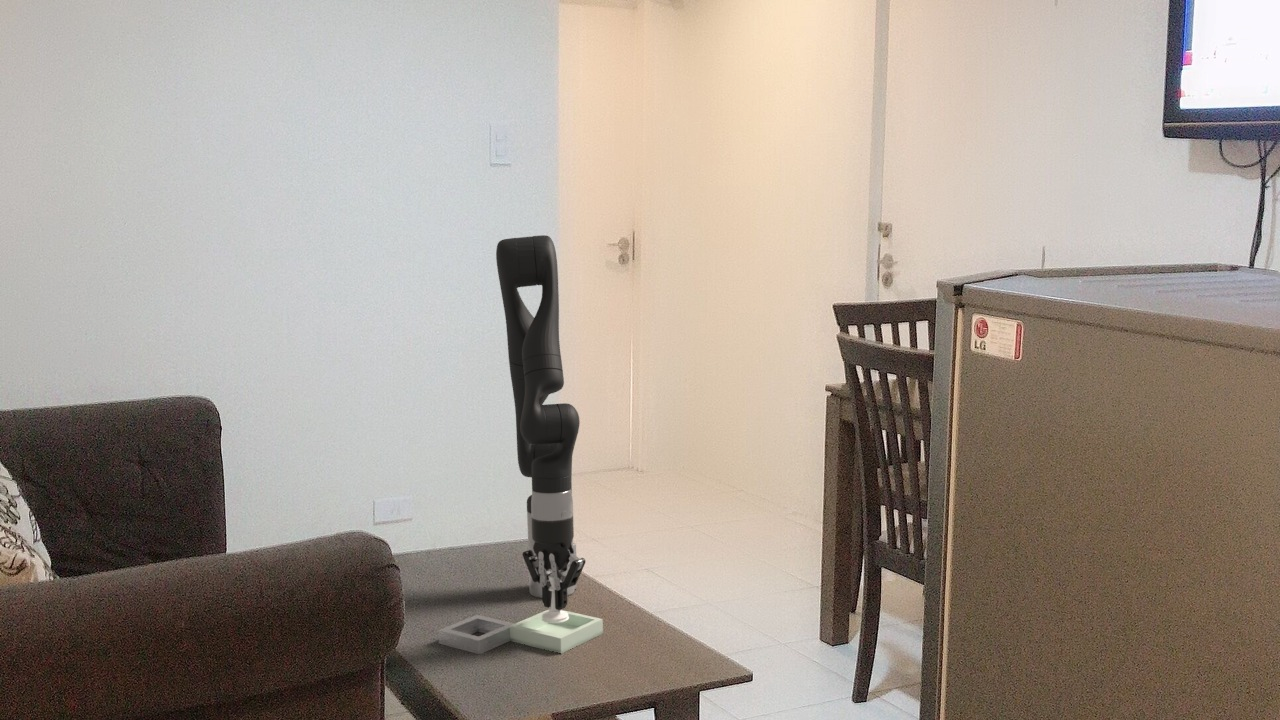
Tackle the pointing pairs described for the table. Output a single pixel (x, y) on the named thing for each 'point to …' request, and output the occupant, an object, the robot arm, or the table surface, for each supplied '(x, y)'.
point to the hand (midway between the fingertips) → (554, 607)
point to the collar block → (463, 639)
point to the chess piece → (554, 607)
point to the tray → (556, 632)
